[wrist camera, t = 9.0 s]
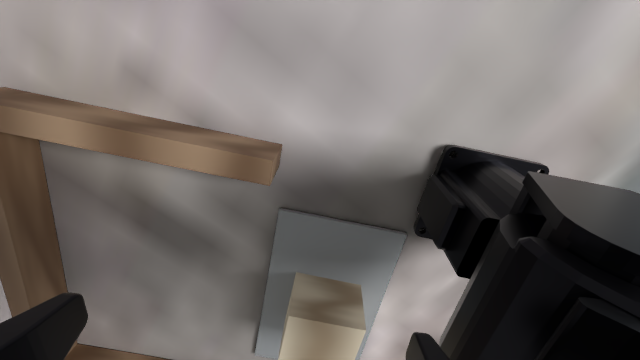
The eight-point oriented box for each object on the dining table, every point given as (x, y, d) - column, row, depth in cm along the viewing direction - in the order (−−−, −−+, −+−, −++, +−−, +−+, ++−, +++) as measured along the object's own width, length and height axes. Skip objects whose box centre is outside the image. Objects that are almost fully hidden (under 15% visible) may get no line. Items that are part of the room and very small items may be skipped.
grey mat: (406, 232, 21) (407, 235, 21) (353, 369, 27) (354, 372, 27) (279, 207, 20) (279, 209, 20) (255, 352, 26) (254, 355, 26)
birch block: (360, 285, 22) (366, 330, 19) (344, 330, 24) (346, 379, 21) (296, 272, 22) (288, 315, 19) (285, 319, 24) (276, 367, 21)
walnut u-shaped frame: (282, 144, 19) (273, 160, 16) (244, 382, 28) (235, 418, 25) (4, 87, 18) (-56, 93, 15) (62, 351, 27) (32, 385, 25)
